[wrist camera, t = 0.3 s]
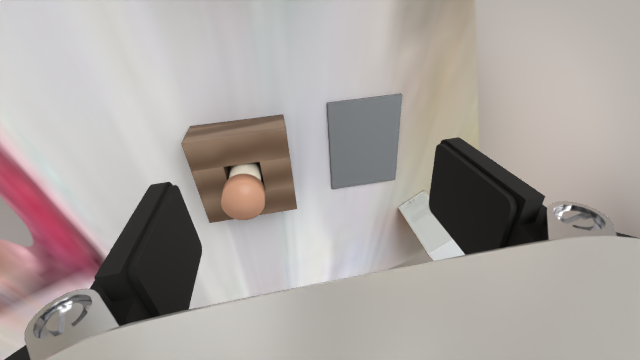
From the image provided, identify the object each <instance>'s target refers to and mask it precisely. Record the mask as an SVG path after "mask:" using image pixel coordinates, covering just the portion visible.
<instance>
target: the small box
mask: <svg viewBox="0 0 640 360" xmlns="http://www.w3.org/2000/svg"><path fill="white" fill-rule="evenodd" d="M398 209H399V210H400V212H401V213H402V215H403V216H404V218H405V219H406V221H407V223H408V224H409V226H410V227H411V229H412V230H413V232H414V234H415V235H416V237H417V238H418V240H419V241H420V243H421V245H422V246H423V248H424V249H425V251H426V253H427V254H428V256H429V257H430V258H431V259H432V260H433V261H436V260H441V259H446V258H452V257H457V256H462V255H465V254H464V252H463V251H462V250H461V249H460V248H459V246H458V245H457V244H456V243H455V241H454V240H453V239H452V238H451V236H450V235H449V234H448V233H447V231H446V230H445V229H444V228H443V226H442V225H441V224H440V223H439V221H438V220H437V219H436V218H435V217H434V215H433V214H432V213H431V211H430V209H429V196H428V194H427V193H426V192H425V191H422V192H420V193H419V194H417V195H416V196H414V197H413V198H411V199H410V200H408V201H407V202H405V203H404V204H403V205H401V206H400V207H398Z"/></svg>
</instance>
